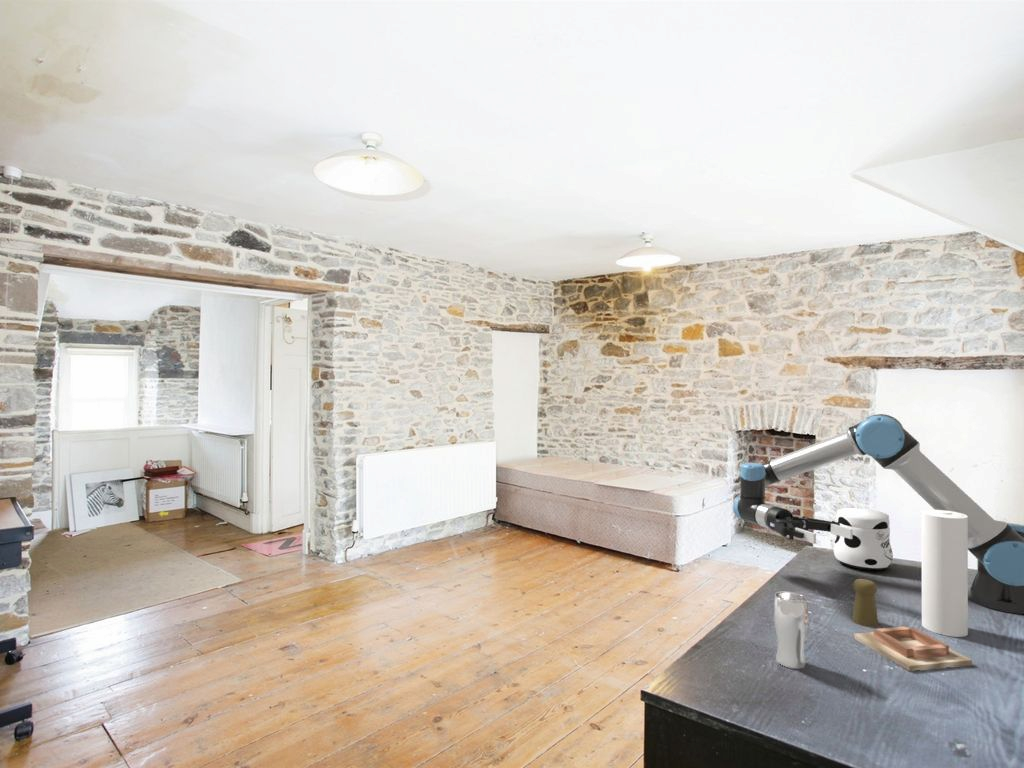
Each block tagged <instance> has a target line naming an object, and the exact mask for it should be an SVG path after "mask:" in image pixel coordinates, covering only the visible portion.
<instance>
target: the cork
mask: <svg viewBox="0 0 1024 768" xmlns="http://www.w3.org/2000/svg"><path fill="white" fill-rule="evenodd" d="M853 590H854V591H855V597H854V603H853V608H852V609H853V610H852V616H851V622H853V623H854V624H856V625H859V626H863V627H866V628H867V627H869V628H877V627H878V626H879V619H878V618H879V617H878V614H877V613H878V612H877V605H876V599H875V594H876V593H877V590H878V589H877V585H876V583H875V582H874V581H872V580H870V579H866V578H858V579H857V578H856V580H854V582H853Z"/></svg>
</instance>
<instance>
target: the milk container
mask: <svg viewBox="0 0 1024 768" xmlns="http://www.w3.org/2000/svg"><path fill="white" fill-rule="evenodd" d="M836 522H837V525H839V526H842V527H846V528H849V529H853V539H848V538H845V537H842V536H839V535H836V536H835V539H834V541H833V554H834V558H835V559H836V560H837V561H838V562H839V563H840V564H843V565H846V566H847V567H851V568H855V569H861V570H867V571H880V570H886V569H888V568H890V567H891V565H892V563H893V559H894V558H893V557H894V554H893V549H892V545H891V542H890V541H891V539H890V538H891V537H890V536H891V535H890V533H891V528H890V516H889V514H887V513H884V512H881V511H879V510H874V509H866V508H856V507H853V508H852V507H851V508H850V507H845V508H839V509H837V511H836Z"/></svg>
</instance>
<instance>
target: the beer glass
mask: <svg viewBox="0 0 1024 768" xmlns="http://www.w3.org/2000/svg"><path fill="white" fill-rule="evenodd" d="M807 600H808V598H807V597H806V596H805V595H803V594H801V593H798V592H794V591H787V590H781V591H777V592H775V593H774V601H773V620H774V622H773V623H774V628H775V634H776V639H777V649H776V653H775V661H776V662H777V663H778V664H779V665H780V664H781V666H782V665H783V666H782V667H784V666H785V668H787V667H788V669H794V670H800V669H803V668H805V667H806V664H807V663H806V658H805V653H804V652H805V649H804V648H805V642H806V636H807V631H808V626H809V625H808V624H809V613H808V601H807Z"/></svg>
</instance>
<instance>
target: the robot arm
mask: <svg viewBox="0 0 1024 768" xmlns="http://www.w3.org/2000/svg"><path fill="white" fill-rule="evenodd" d="M920 449H921V447H920V442H919V441H918V440H917V439H916V438H915V437H914V436H912V435H911V434H910V432H908V431H907V430H906V429H905V428H904V427H903V425H902V423H901V422H900V421H899V420H898V419H897V418H896V417H893V416H891V415H889V414H884V413H883V414H882V413H878V414H873V415H870V416H869V417H867V418H865V419H864V420H862V421H860V422H859V423H857V424H854V425H852V426H849V427H848V428H847V429H846V431H845V432H841V433H839V434H837V435H834V436H832V437H829V438H826V439H824V440H822V441H818V442H816V443H814V444H810V445H807V446H805V447H803V448H799V449H797V450H794V451H791V452H790V453H786V454H783V455H781V456H779V457H776V458H772V459H771V460H769V461H766V462H762V463H755V462H746V463H745V462H744V463H742V464H741V465H740V472H739V476H740V496H739V497H738V498H736V499H735V501H734V503H733V505H732V511H733V514H734V516H735V517H737V518H738V519H739V520H742V521H744V522H746V523H750V524H752V525H753V524H754V525H756V526H760V527H763V528H765V530H766V531H767V530H772V531H774V532H776V533H778V534H779V535H781V537H783V538H786V537H787V538H788V539H789V540H792V541H793V540H794V539H795V538H796V539H798V540H802V541H805V542H808V543H810V544H813V545H814V544H817V533H815V532H811V531H809V530H812V531H820V532H821V531H822V532H828V533H830V534H832V535H839V536H842V537H845V538H848V539H853V529H849V528H846V527H842V526H839V525H837V521H835V520H825V519H819V518H818V519H817V518H813V517H812V518H811V517H807V516H802V517H799V516H795V515H794V514H792V512H791V511H790V510H789V509H787V508H783V507H780V506H777V505H773V504H769V503H766V488H767V487H768V486H770V485H773V484H776V483H778V482H781V481H784V480H786V479H790V478H793V477H796V476H798V475H801V474H804V473H807V472H810V471H814V470H815V469H819V468H822V467H824V466H827V465H830V464H834V463H836V462H839V461H842V460H845V459H847V458H851V457H853V456H856V455H859V456H869V457H871V458H872V459H873V460H874V461H876V462H877V464H879V465H880V466H881V467H882V469H886V470H892V471H894V472H895V473H896V474H897V475H898V476H899V477H900V478H901V479H902V480H903V481H905V483H907V484H908V486H910V488H912V489H913V491H914V492H916V494H918V495H919V496H920V497H921V498H922V499H923V500H924V501H925V502H927V504H928V505H929V506H930V507H931V508H933V510H946V511H953V512H958V513H962V514H965V515H967V516H968V552H970V554H972V555H973V556H974V557H975V558H976V559H977V569H976V570H977V571H976V574H975V577H974V579H973V581H972V583H971V585H970V588H969V599H971V601H972V602H974V603H976V604H978V605H980V606H983V607H986V608H989V609H992V610H996V611H1001V612H1005V613H1011V614H1018V615H1024V524H1019V523H1010V522H1006V521H1003V520H997V519H994V518H993V517H992V516H991V515H990V514H989V513H987V512H986V511H985V510H984V509H983V508H982V507H981V506H980V505H979V504H978V503H977V502H976V501H974V500H973V498H971V496H969V495H968V494H967V493H966V492H964V490H963V489H961V488H960V487H959V486H958V484H956V483H955V482H954V481H953V480H952V479H951V478H949V477H948V475H946V474H945V473H944V472H943V471H942V470H941V469H940V468H939V467H938V466H937V465H936V464H935V463H933V462H932V461H931V460H930V459H929V458H928V457H927V456H926V455H925V454H924V453H922V451H921V450H920Z"/></svg>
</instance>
